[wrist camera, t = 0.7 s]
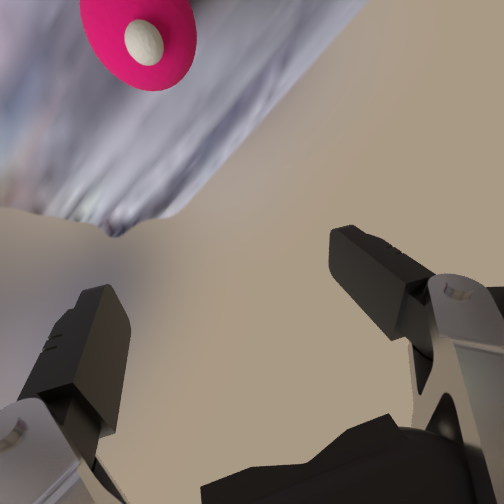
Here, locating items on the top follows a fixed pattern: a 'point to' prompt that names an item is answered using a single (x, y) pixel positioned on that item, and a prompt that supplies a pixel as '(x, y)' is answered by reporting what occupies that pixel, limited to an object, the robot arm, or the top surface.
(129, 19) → the pepper mill
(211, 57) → the top surface
